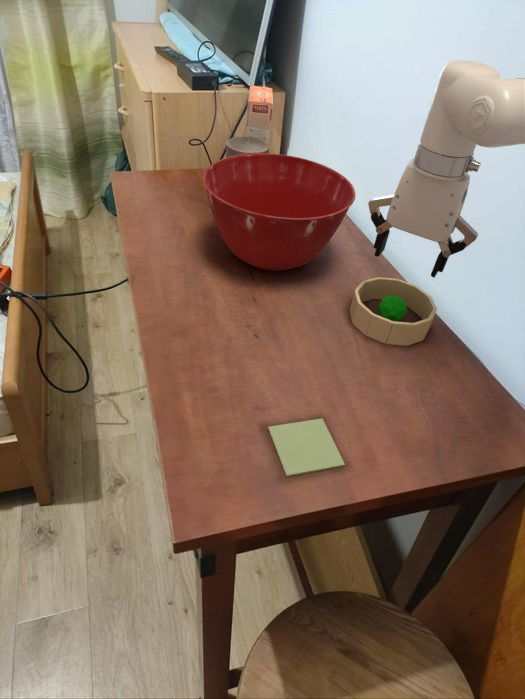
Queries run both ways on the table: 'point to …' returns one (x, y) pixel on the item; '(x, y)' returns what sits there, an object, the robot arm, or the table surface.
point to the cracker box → (259, 113)
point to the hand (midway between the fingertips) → (406, 263)
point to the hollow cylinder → (384, 327)
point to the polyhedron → (392, 308)
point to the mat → (305, 447)
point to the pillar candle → (245, 146)
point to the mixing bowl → (276, 207)
